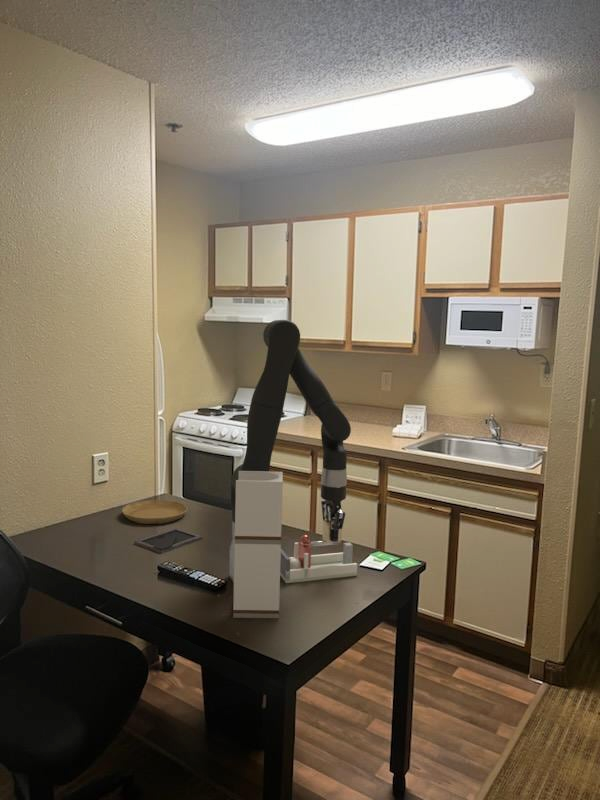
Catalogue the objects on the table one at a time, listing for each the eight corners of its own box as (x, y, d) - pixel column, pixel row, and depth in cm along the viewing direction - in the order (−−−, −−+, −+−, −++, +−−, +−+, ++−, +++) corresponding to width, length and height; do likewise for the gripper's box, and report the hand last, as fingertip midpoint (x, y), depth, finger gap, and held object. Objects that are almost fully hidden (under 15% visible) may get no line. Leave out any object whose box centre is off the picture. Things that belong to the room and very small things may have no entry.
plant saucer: (168, 504, 248) (169, 496, 247) (199, 519, 229) (199, 510, 229) (111, 514, 232) (111, 505, 232) (139, 531, 214) (139, 522, 214)
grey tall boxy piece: (278, 599, 163) (282, 471, 159) (278, 618, 153) (282, 481, 149) (236, 598, 163) (238, 470, 159) (233, 617, 152) (235, 480, 148)
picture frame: (161, 555, 193) (202, 540, 208) (161, 549, 193) (202, 534, 207) (134, 545, 201) (175, 532, 215) (134, 539, 201) (175, 526, 215)
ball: (301, 559, 178) (304, 571, 178) (296, 554, 181) (300, 566, 182) (288, 564, 177) (292, 576, 177) (284, 559, 180) (287, 571, 181)
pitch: (286, 583, 174) (286, 556, 173) (276, 569, 183) (276, 544, 182) (356, 575, 181) (357, 549, 180) (343, 563, 190) (344, 538, 189)
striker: (302, 571, 178) (304, 525, 176) (297, 564, 182) (298, 520, 181) (341, 567, 182) (343, 522, 180) (335, 560, 186) (337, 517, 185)
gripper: (313, 477, 186) (311, 532, 188) (330, 489, 172) (328, 548, 174) (336, 476, 188) (334, 530, 190) (355, 488, 175) (352, 545, 177)
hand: (331, 538), depth 182 cm, fingers open, 3 cm apart
